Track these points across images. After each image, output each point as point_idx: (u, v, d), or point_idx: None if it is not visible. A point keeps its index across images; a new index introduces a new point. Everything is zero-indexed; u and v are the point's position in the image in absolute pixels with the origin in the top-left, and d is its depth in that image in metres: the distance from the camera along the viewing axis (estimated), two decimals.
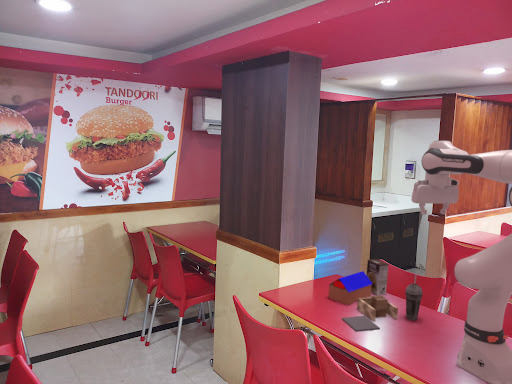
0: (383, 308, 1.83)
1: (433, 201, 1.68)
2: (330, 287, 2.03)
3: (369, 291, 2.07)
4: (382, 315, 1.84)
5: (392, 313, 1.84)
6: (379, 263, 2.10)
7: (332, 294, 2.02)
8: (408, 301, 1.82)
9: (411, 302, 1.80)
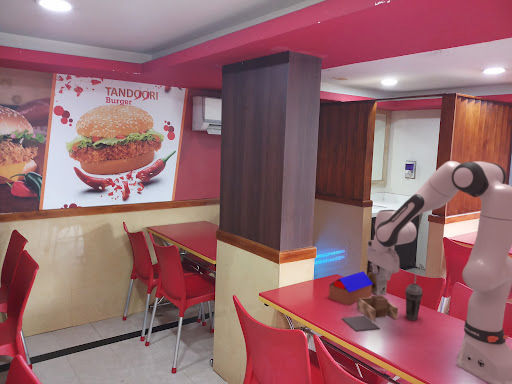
0: (383, 308, 1.83)
1: None
2: (330, 287, 2.03)
3: (369, 291, 2.07)
4: (382, 315, 1.84)
5: (392, 313, 1.84)
6: None
7: (332, 294, 2.02)
8: (408, 301, 1.82)
9: (411, 302, 1.80)
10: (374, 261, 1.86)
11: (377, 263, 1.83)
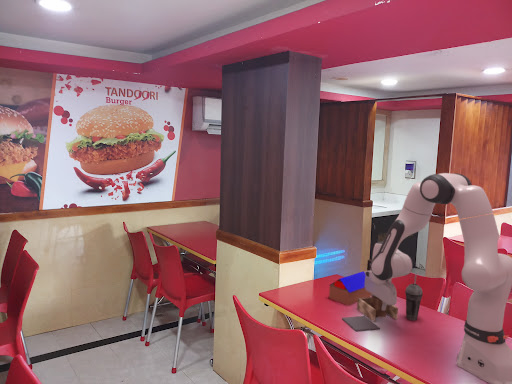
0: None
1: None
2: (331, 287, 2.02)
3: None
4: (382, 315, 1.84)
5: (392, 313, 1.84)
6: None
7: (333, 294, 2.02)
8: (408, 301, 1.82)
9: (411, 302, 1.80)
10: (372, 292, 1.87)
11: (375, 294, 1.85)
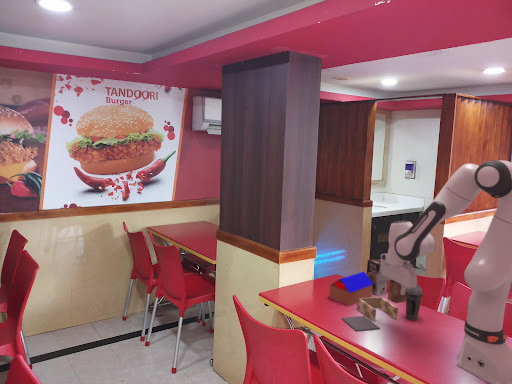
0: None
1: None
2: (331, 288, 2.02)
3: (370, 292, 2.07)
4: (401, 300, 1.71)
5: (392, 313, 1.84)
6: (379, 263, 2.10)
7: (333, 295, 2.01)
8: (408, 301, 1.82)
9: (411, 302, 1.80)
10: (389, 276, 1.75)
11: (392, 278, 1.73)
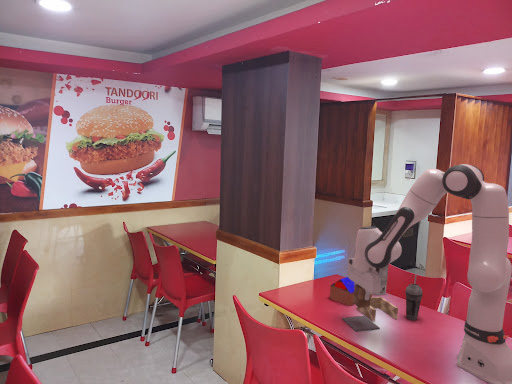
0: None
1: None
2: (331, 288, 2.02)
3: None
4: (365, 305, 1.72)
5: (392, 313, 1.84)
6: None
7: (333, 295, 2.01)
8: (408, 301, 1.82)
9: (411, 302, 1.80)
10: (355, 280, 1.76)
11: (358, 283, 1.74)
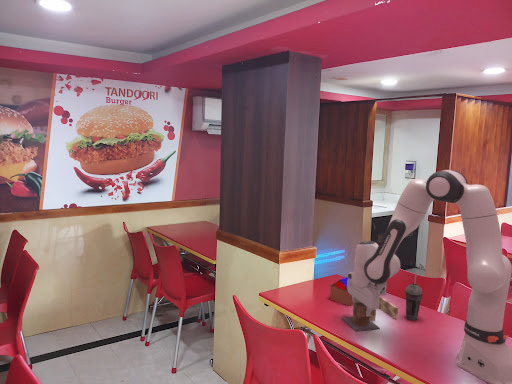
0: (365, 315, 1.73)
1: None
2: (332, 288, 2.02)
3: None
4: (365, 323, 1.73)
5: (392, 313, 1.84)
6: None
7: (334, 295, 2.01)
8: (408, 301, 1.82)
9: (411, 302, 1.80)
10: (354, 295, 1.77)
11: (357, 297, 1.75)
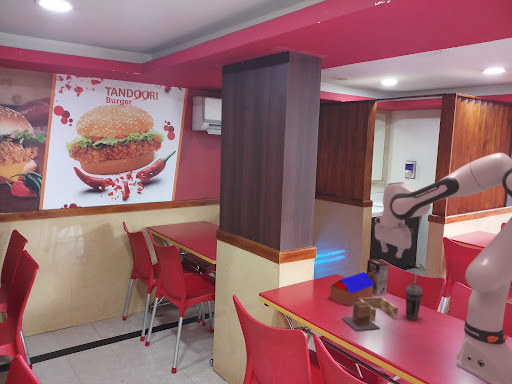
0: (365, 315, 1.73)
1: None
2: (332, 288, 2.01)
3: (371, 292, 2.06)
4: (365, 323, 1.73)
5: (392, 313, 1.84)
6: (379, 263, 2.10)
7: (334, 295, 2.01)
8: (408, 301, 1.82)
9: (411, 302, 1.80)
10: (383, 239, 1.74)
11: (387, 240, 1.72)
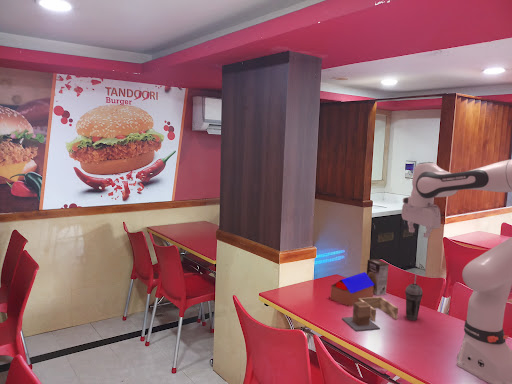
0: (365, 315, 1.73)
1: None
2: (332, 288, 2.01)
3: (371, 292, 2.06)
4: (365, 323, 1.73)
5: (392, 313, 1.84)
6: (379, 263, 2.10)
7: (334, 295, 2.00)
8: (408, 301, 1.82)
9: (411, 302, 1.80)
10: (411, 219, 1.74)
11: (414, 220, 1.72)
